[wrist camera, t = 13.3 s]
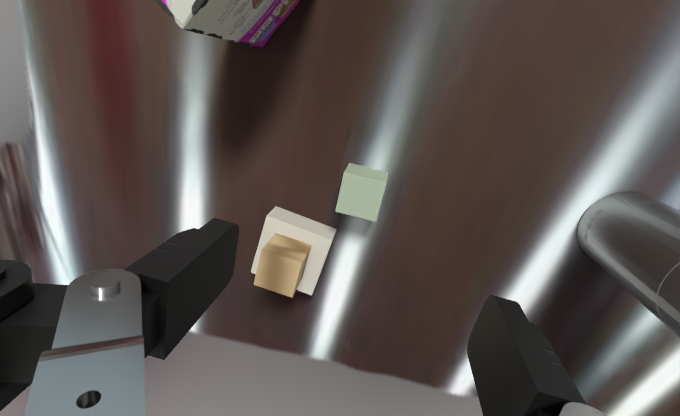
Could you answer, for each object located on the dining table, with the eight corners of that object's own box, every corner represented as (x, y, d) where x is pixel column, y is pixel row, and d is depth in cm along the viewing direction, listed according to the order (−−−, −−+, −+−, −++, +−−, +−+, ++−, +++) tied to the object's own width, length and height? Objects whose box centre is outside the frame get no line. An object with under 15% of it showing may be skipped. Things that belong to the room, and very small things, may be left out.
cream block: (337, 228, 48) (332, 240, 45) (317, 280, 52) (311, 295, 48) (276, 205, 49) (266, 215, 45) (261, 258, 52) (250, 272, 48)
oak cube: (311, 244, 45) (301, 263, 41) (302, 276, 47) (292, 297, 42) (275, 232, 46) (261, 249, 41) (267, 264, 47) (253, 284, 43)
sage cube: (387, 172, 44) (386, 182, 40) (378, 208, 46) (375, 221, 42) (349, 162, 45) (344, 171, 40) (341, 198, 47) (335, 211, 42)
